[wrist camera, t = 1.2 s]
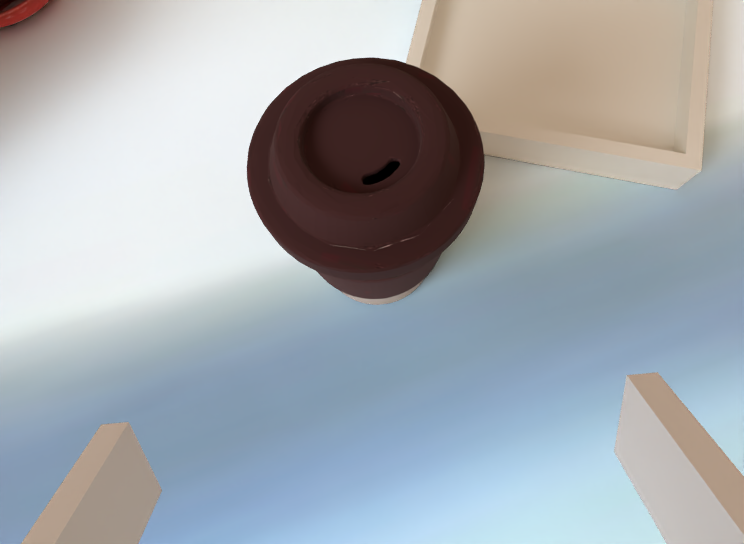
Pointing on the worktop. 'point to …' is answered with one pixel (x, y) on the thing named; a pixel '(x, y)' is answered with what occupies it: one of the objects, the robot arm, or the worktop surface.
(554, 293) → the worktop surface
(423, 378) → the worktop surface
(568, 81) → the tray
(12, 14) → the plant pot
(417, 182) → the coffee cup
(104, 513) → the robot arm
